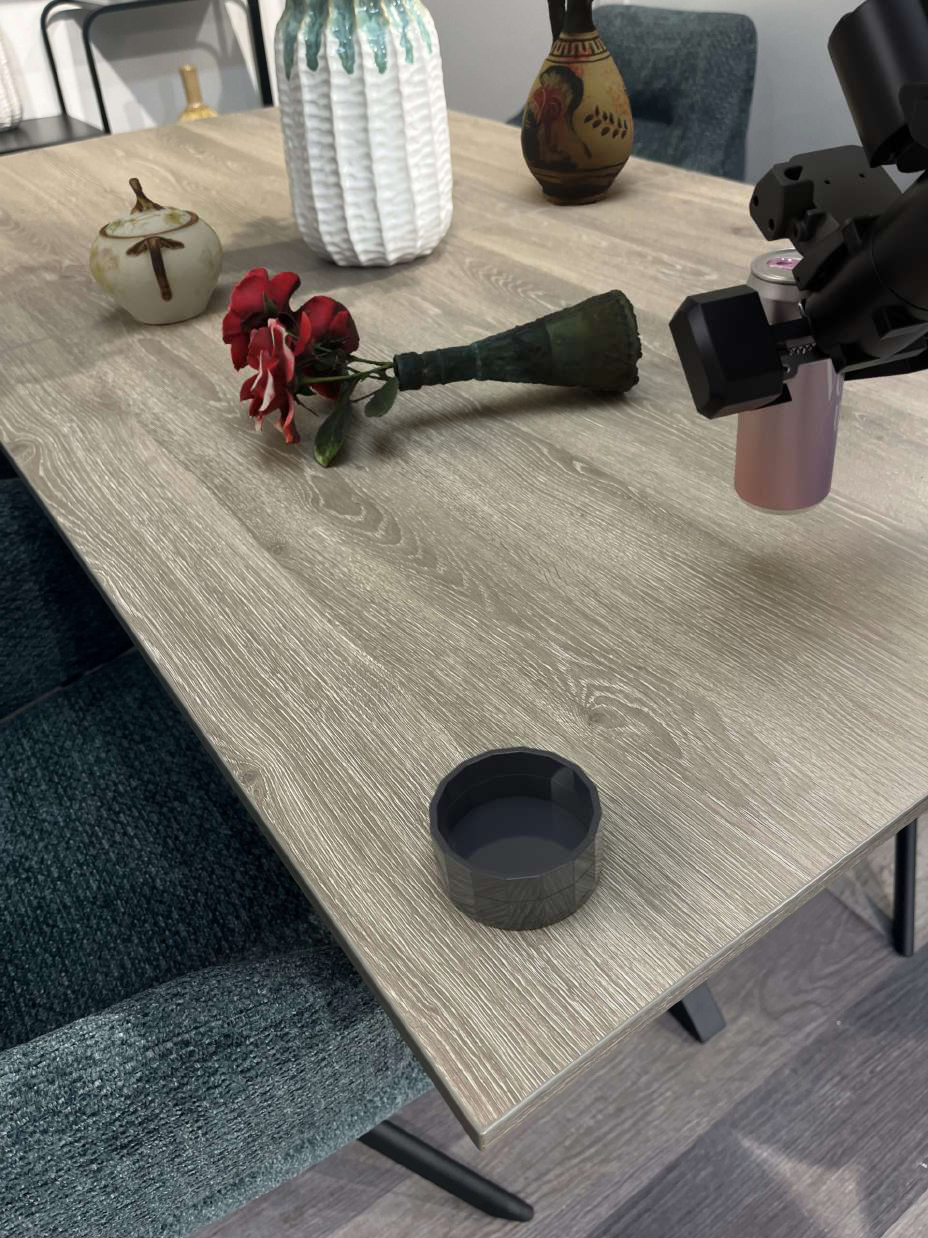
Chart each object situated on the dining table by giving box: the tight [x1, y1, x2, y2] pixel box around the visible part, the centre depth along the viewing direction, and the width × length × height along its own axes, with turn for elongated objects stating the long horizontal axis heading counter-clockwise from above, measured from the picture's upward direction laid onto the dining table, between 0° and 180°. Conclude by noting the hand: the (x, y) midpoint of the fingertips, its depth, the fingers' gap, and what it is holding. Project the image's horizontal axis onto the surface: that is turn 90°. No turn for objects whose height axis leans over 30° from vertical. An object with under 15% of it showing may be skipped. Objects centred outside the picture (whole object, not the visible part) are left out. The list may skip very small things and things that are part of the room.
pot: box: [428, 745, 604, 931], centre depth 51 cm, size 8×8×4 cm
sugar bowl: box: [88, 177, 224, 325], centre depth 115 cm, size 20×15×15 cm
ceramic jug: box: [520, 0, 635, 206], centre depth 134 cm, size 17×15×30 cm
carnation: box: [221, 267, 644, 468], centre depth 90 cm, size 16×18×35 cm
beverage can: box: [733, 246, 845, 516], centre depth 61 cm, size 6×6×15 cm
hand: (777, 385), depth 62 cm, fingers closed on beverage can, 6 cm apart
